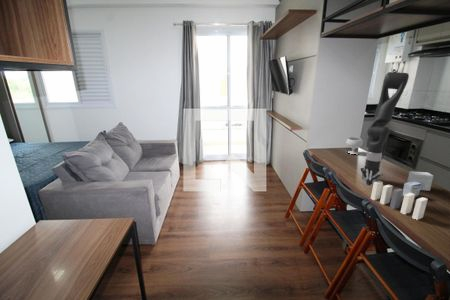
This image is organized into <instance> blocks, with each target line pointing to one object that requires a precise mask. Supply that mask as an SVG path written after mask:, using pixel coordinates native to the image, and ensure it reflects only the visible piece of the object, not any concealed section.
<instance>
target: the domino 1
mask: <svg viewBox="0 0 450 300" xmlns="http://www.w3.org/2000/svg"><path fill="white" fill-rule="evenodd" d="M383 183H384V182H383V181H381V180H378V181H377V182H374V183H372V185H373V186H372V190H371V195H370V199H371V200H372V201H377V200H379V199H381V194H382V189H383V186H384V184H383Z"/></svg>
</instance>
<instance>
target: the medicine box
mask: <svg viewBox="0 0 450 300" xmlns="http://www.w3.org/2000/svg"><path fill="white" fill-rule="evenodd" d="M420 188H421V184H420V183H418V182H415V181H413V182H408V183H407V182H405V183H404V184H403V190H404V191H403V195H402V197H404V195H405V194H408V193H410V192H411V193H413V194H415V197H414V198H416V197H419V195H420V191H421V190H420Z"/></svg>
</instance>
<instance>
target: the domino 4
mask: <svg viewBox="0 0 450 300" xmlns="http://www.w3.org/2000/svg"><path fill="white" fill-rule="evenodd" d="M415 198H416V197H415V194H413V193H411V192H410V193H408V194H405V195H404V196H403V198H402V199H403V200H402V202H401V203H402V204H401V206H400V207H401V208H400V212H399V213H400V214H403V215H408V214H411V212H412V209H413V204H414V200H415ZM407 213H408V214H407Z"/></svg>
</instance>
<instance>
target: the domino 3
mask: <svg viewBox="0 0 450 300" xmlns="http://www.w3.org/2000/svg"><path fill="white" fill-rule="evenodd" d="M403 191H404V190H403V189H402V188H396V189H392V194H391V198H390V203H389V204H390V205H389V209H392V210H397V209H398V208H400V207H401V205H402V204H401V203H402V201H403V200H402V199H403Z"/></svg>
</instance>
